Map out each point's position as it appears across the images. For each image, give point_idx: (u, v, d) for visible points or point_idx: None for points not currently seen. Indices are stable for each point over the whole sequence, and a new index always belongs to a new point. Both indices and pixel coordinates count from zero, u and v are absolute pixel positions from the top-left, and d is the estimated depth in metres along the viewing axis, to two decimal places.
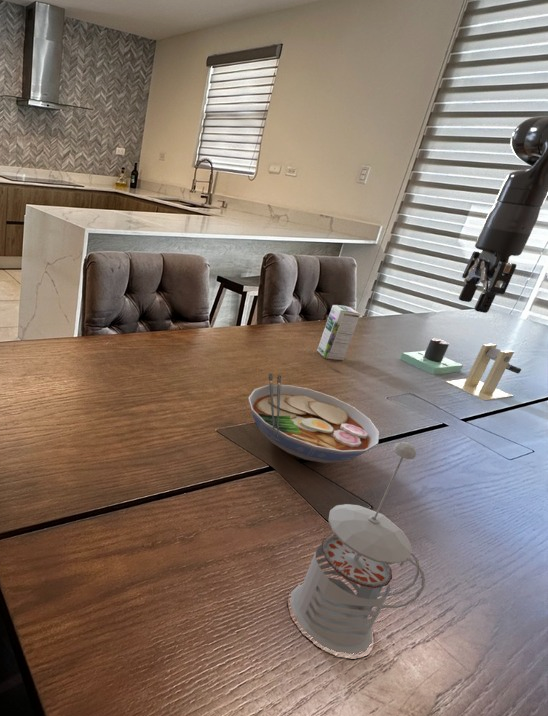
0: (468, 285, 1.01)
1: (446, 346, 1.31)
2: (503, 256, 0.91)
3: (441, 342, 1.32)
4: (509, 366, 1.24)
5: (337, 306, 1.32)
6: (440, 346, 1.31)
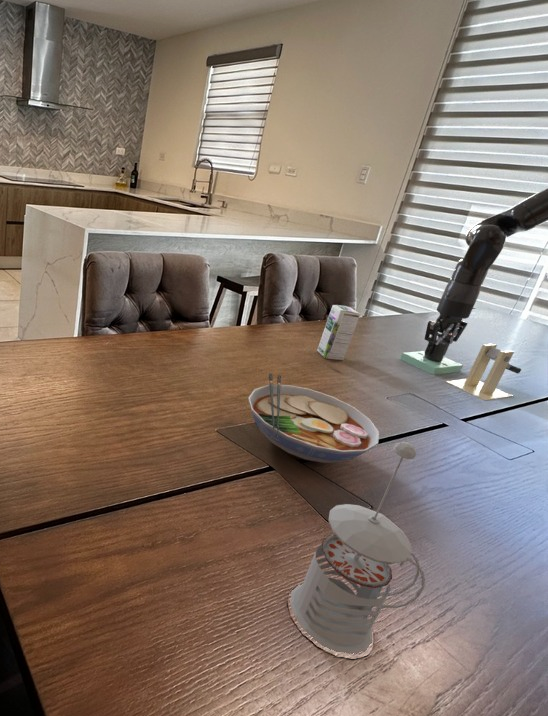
0: None
1: (446, 346, 1.31)
2: (441, 315, 1.28)
3: (441, 342, 1.32)
4: (509, 366, 1.24)
5: (337, 306, 1.32)
6: (440, 346, 1.31)
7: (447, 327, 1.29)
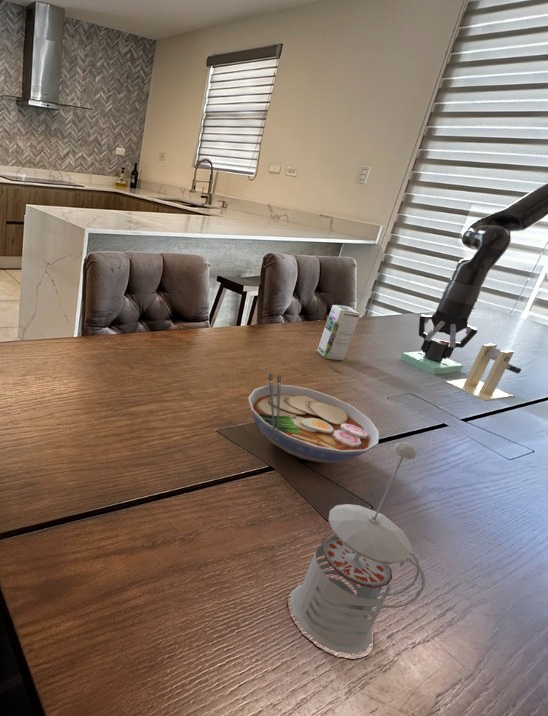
0: (429, 342, 1.34)
1: None
2: (467, 319, 1.27)
3: (443, 341, 1.33)
4: (509, 366, 1.24)
5: (337, 306, 1.32)
6: None
7: None
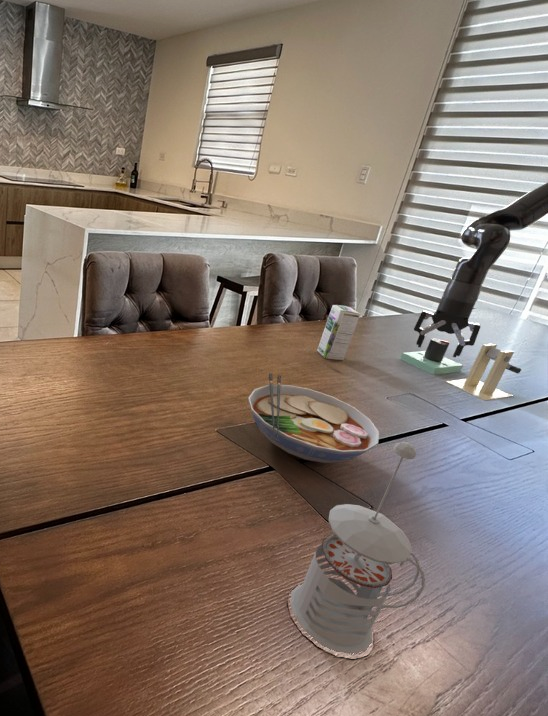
0: (424, 336, 1.34)
1: None
2: (468, 318, 1.27)
3: (442, 341, 1.33)
4: (509, 366, 1.24)
5: (337, 306, 1.32)
6: None
7: None
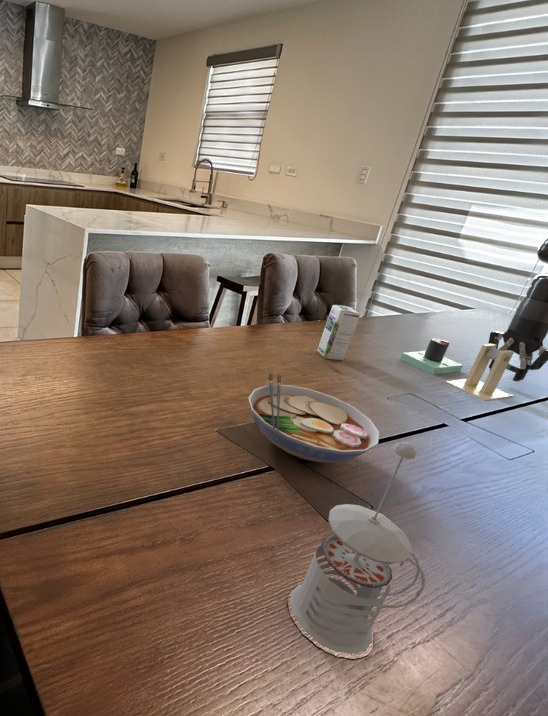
0: None
1: None
2: (541, 340, 1.18)
3: (442, 341, 1.33)
4: (509, 366, 1.24)
5: (337, 306, 1.32)
6: None
7: None
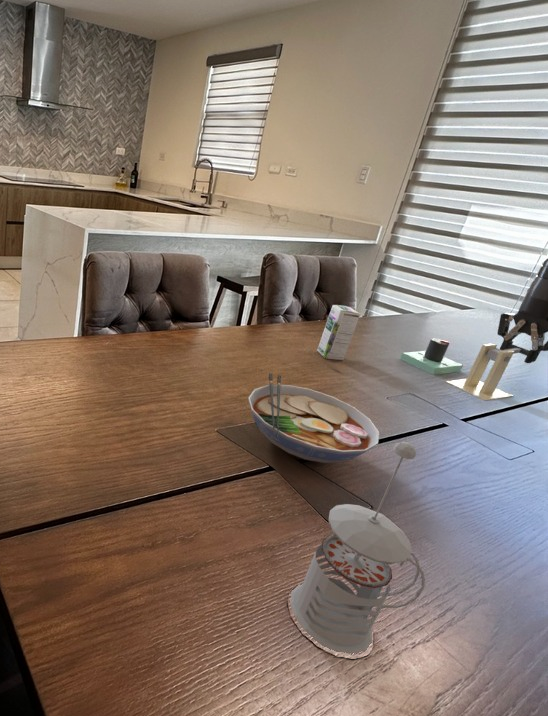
0: (509, 342, 1.25)
1: None
2: None
3: (442, 341, 1.33)
4: (518, 351, 1.22)
5: (337, 306, 1.32)
6: None
7: None
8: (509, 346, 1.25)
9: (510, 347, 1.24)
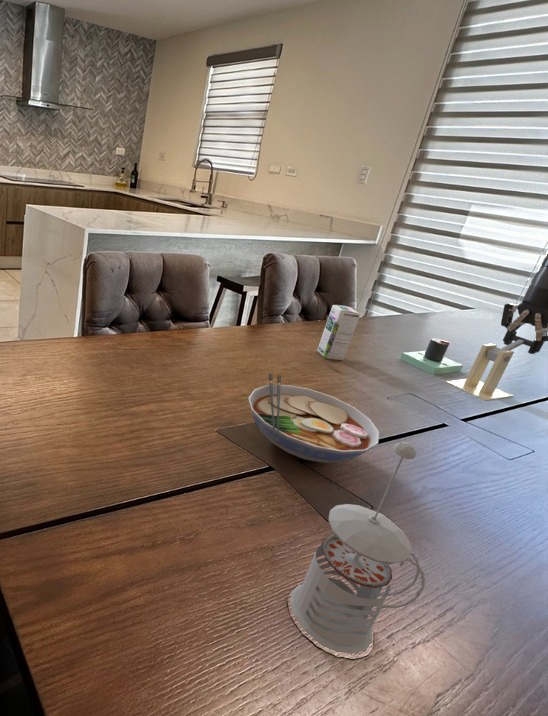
0: (513, 333, 1.23)
1: None
2: None
3: (442, 341, 1.33)
4: (521, 343, 1.21)
5: (337, 306, 1.32)
6: None
7: None
8: (512, 338, 1.23)
9: (513, 339, 1.23)
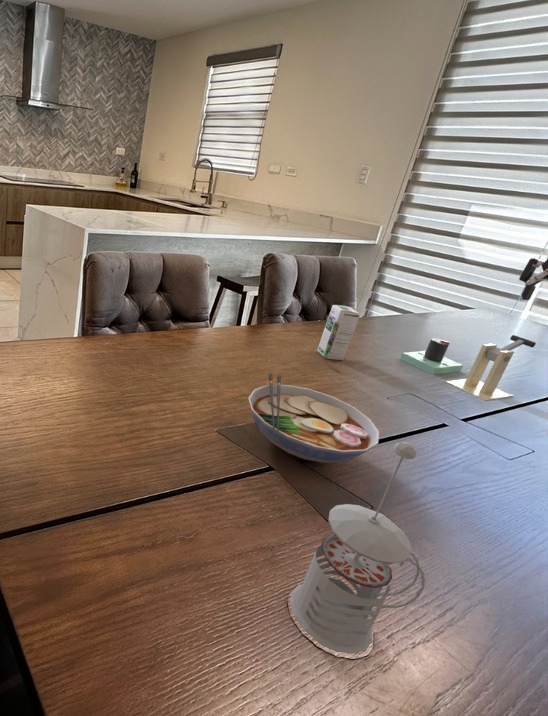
0: (531, 287, 1.20)
1: None
2: None
3: (442, 341, 1.33)
4: (521, 343, 1.21)
5: (337, 306, 1.32)
6: None
7: None
8: (512, 338, 1.23)
9: (513, 339, 1.23)
